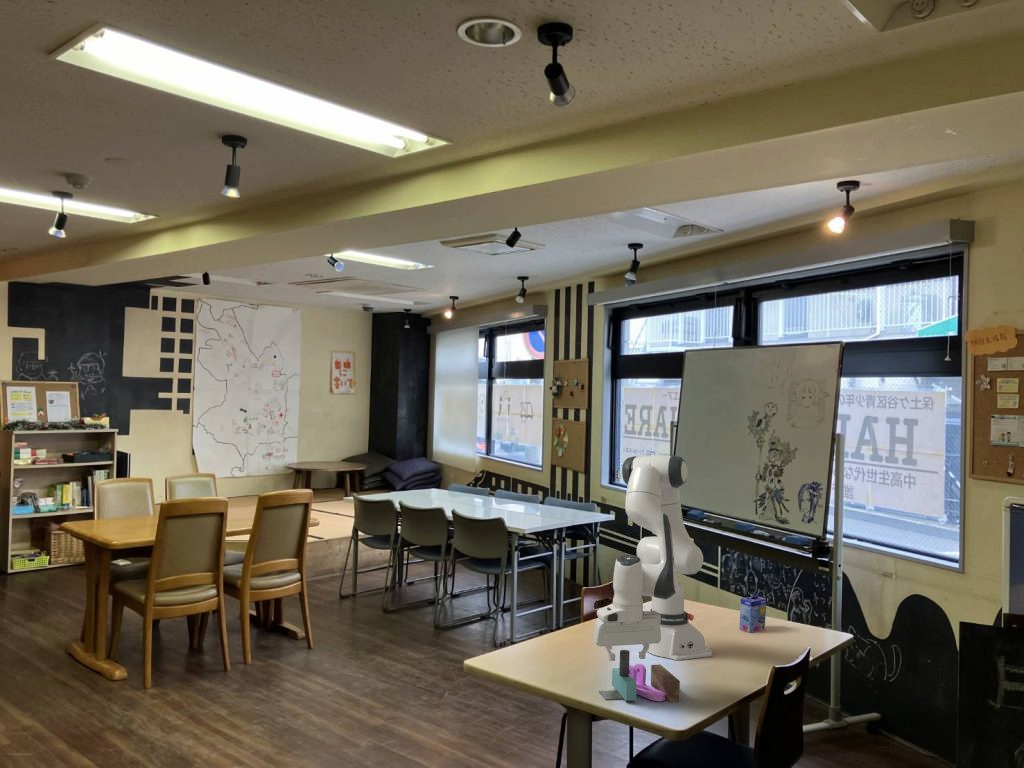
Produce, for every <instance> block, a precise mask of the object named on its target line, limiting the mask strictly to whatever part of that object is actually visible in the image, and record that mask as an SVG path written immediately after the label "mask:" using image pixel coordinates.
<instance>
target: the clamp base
mask: <svg viewBox="0 0 1024 768" xmlns="http://www.w3.org/2000/svg"><path fill="white" fill-rule="evenodd" d="M650 686H651V687H652V688H655V689H657V690H660V691H662V692H664V693H665V694H666V696H665V700H666V701H667V702H668V703H669V704H670V703H680V695H681V694H680V689H681V681H680V680H679V679H678V678H677V677H676V676H675V675H673V673H671V672H670V671H669V670H667V668H665V667H664V666H663V665H662V664H651V665H650ZM598 693H599V695H600V696H601V697H602V698H603V700H605V701H618V700H625V699H624V698H623V697H622V696H621V695H620V693H619V692H618V691H617V690H616V689H614V690H612V689H611V690H599V691H598Z"/></svg>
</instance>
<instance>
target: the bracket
mask: <svg viewBox="0 0 1024 768" xmlns="http://www.w3.org/2000/svg"><path fill="white" fill-rule="evenodd" d="M629 676H630V677H631V678H632V679H633V680H634V681H635V682H636V695H638V696H641V697H643V698H646V699H648V700H651V701H655V702H664V701H665V700H666V699H665V696H666V694H665V693H664V692H662V691H660V690H657V689H655V688H654V687H653V686H651V685H647V683H646V679H647V678H646V677H647V668H646V666H645V664H643V663H637V664H635V665H630V664H629Z"/></svg>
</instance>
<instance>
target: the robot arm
mask: <svg viewBox="0 0 1024 768" xmlns="http://www.w3.org/2000/svg"><path fill="white" fill-rule="evenodd" d="M621 468H622V469H621V475H622V476H621V477H622V480H623V482H624V483H625V484H626V485H627V486H626V487H627V488H626V493H625V500H624V501H625V503H624V504H625V513H626V515H627V517H628V518H629V519H630V520H631V521H632V522H633V523H634V524H636V525H637V526H639V527H640V528H643V529H646V530H648V531H650V532H651V533H653V534H655V535H656V536H655V535H654V536H644V537H643V538H641V539H640V541H638V544H637V547H636V555H633V554H624V555H620V556H618V557H617V558H616V560H615V563H614V567H613V568H614V570H613V573H612V588H613V592H614V594H613V597H612V603H611V604H608V605H606V606H603V607H602V608H601V607H600V608H599V609H597V610H596V616H597V617H598V618H597V619H596V620H595V621H594V624H593V625H594V626H593V634H592V635H593V637H592V638H593V642H594V643H595V645H596V646H597V647H600V648H601V647H604V648H605V650H606V652H607V653H608V660H609V661H610V662H613V661H616V654H615V653H614V652H612V651H611V650H613V647H617V646H618V647H619V646H633V645H642V646H643V647H642V648H641V651H638V658H639V659H640V660H645V659H646V654H647V652H648V653H649V654H651V655H653V656H658V657H662V658H666V659H667V658H668V659H671V660H674V661H682V660H691V659H698V658H707V657H712V656H713V653H712V650H711V649H710V647H708V646H706V641H705V637H704V635H703V633H702V632H701V631H699V629H697V628H696V627H695V626H694V625H693V624H691V623H690V622H691V621H694V619H695V615H693V614H692V613H688V612H686V611H685V590H684V587H683V585H682V584H680V582H678V576H677V574H679V575H695V574H697V573H698V572H700V570H701V568H702V567H703V563H704V555H703V552H702V550H701V548H700V547H699V546H697V545H696V543H695V542H694V541H693V540H692V538H691V537H690V535H689V534H688V531H687V529H686V527H685V523H684V520H683V512H682V504H681V503H682V502H681V493H680V488H679V487H682V486H683V485H684V484H685V483H686V481H687V477H688V465H687V463H686V461H685V460H684V459H683V457H682V456H679V455H675V454H674V455H667V454H666V455H663V454H652V455H641V456H637V455H635V456H629V457H627V458H626V459H625V460H624V462H623V463H622V467H621ZM643 597H651V609H650V610H649V611H648V610H645V611H644V600H643ZM689 621H690V622H689Z"/></svg>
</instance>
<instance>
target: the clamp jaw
mask: <svg viewBox="0 0 1024 768" xmlns="http://www.w3.org/2000/svg"><path fill="white" fill-rule="evenodd" d="M629 666H630V650H628V649H621V650H619V667H618V668H616V667H615V668H614V667H612V669H611V686H612V688H614V690H617V691H618V692H619V693H620V695H621V696H622V697H623V698H624V699H623V700H625V701H626V702H627V701H629V702H630V701H637V694H636V682H635V681H634V680H633V679H632V678H631V677H630V676H629Z"/></svg>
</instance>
